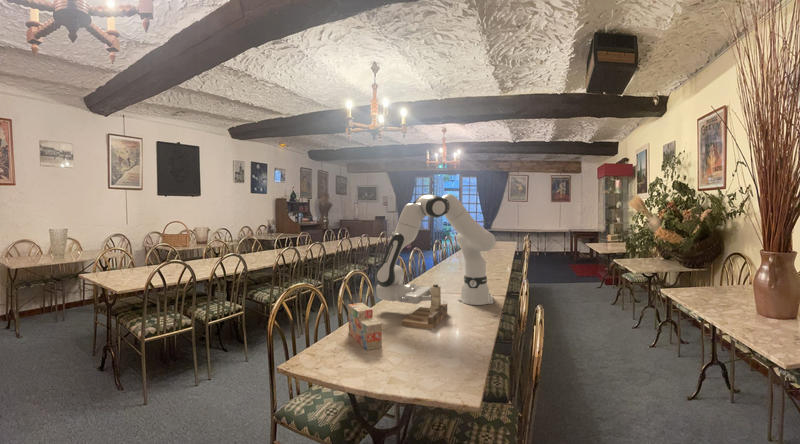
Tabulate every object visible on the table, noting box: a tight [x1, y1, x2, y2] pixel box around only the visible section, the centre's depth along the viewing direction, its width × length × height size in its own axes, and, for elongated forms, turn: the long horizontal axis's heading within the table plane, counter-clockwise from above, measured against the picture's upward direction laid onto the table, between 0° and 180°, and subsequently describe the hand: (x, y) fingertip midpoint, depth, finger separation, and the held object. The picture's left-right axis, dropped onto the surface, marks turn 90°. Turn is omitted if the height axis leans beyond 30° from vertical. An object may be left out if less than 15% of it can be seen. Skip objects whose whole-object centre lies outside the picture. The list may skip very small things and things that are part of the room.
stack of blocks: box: [347, 302, 383, 351], centre depth 146 cm, size 21×6×12 cm, turn 26°
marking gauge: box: [429, 283, 443, 313], centre depth 176 cm, size 7×4×13 cm, turn 157°
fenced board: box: [401, 303, 448, 330], centre depth 171 cm, size 23×14×5 cm, turn 157°
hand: (434, 296), depth 176 cm, fingers open, 8 cm apart
